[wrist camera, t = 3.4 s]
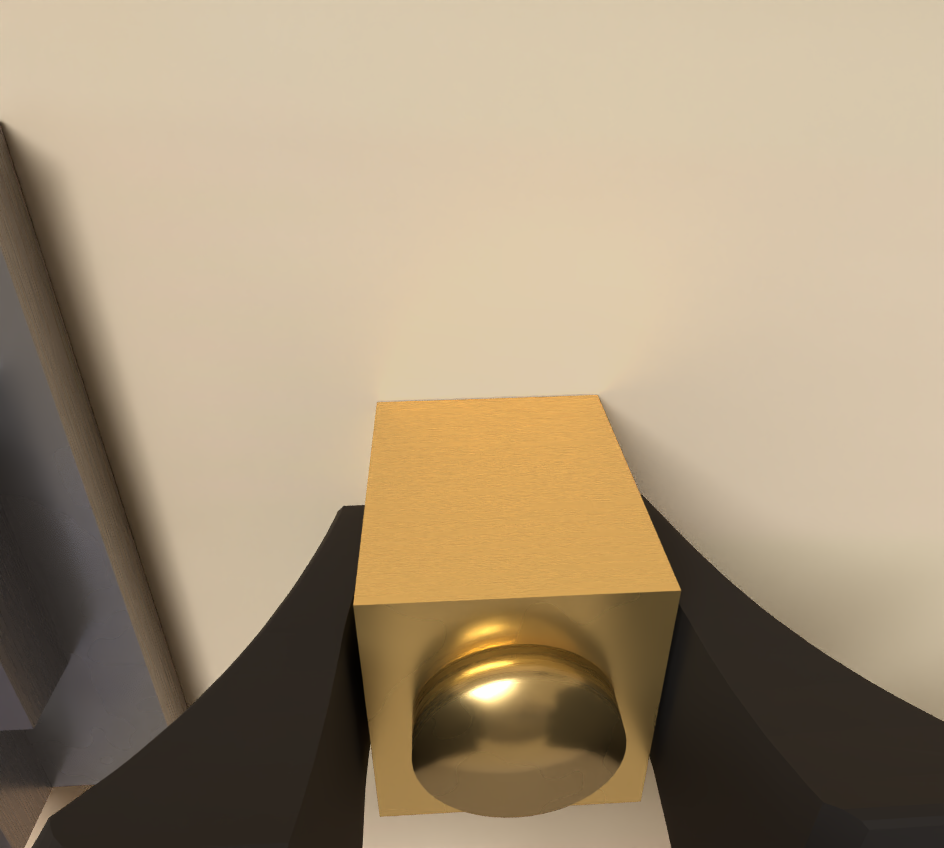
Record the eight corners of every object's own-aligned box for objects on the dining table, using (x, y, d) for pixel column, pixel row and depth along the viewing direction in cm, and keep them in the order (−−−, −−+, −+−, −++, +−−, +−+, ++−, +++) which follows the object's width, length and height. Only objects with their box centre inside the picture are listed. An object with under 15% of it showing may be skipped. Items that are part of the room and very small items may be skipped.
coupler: (580, 576, 15) (650, 840, 11) (392, 584, 15) (377, 857, 10) (597, 395, 13) (697, 627, 8) (377, 402, 13) (348, 644, 8)
